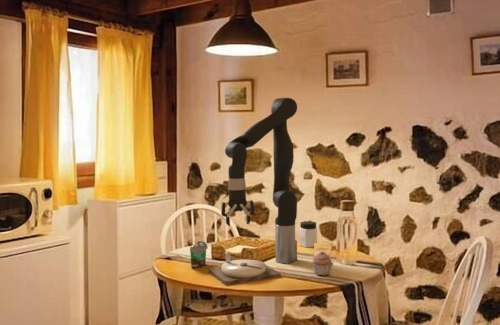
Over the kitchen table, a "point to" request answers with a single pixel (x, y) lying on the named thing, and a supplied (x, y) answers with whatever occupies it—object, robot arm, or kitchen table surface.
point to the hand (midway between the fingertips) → (238, 224)
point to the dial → (243, 267)
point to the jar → (308, 234)
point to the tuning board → (234, 280)
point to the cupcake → (322, 264)
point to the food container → (198, 255)
